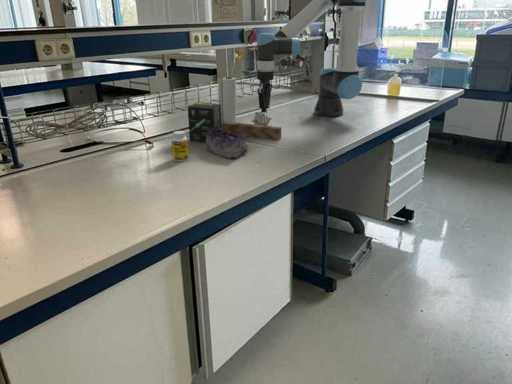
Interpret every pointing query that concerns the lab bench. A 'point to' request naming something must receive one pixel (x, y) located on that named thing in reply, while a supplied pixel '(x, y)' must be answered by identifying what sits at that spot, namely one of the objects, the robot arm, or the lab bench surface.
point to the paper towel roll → (227, 99)
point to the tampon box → (203, 120)
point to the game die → (261, 119)
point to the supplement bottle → (179, 146)
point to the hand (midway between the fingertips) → (264, 122)
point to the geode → (225, 143)
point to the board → (253, 130)
